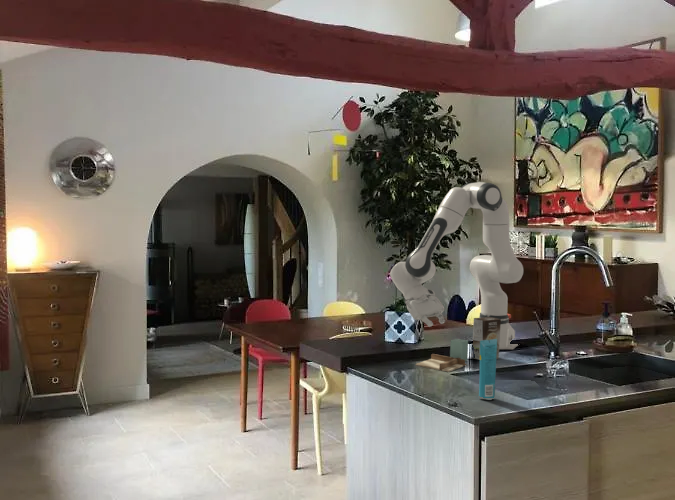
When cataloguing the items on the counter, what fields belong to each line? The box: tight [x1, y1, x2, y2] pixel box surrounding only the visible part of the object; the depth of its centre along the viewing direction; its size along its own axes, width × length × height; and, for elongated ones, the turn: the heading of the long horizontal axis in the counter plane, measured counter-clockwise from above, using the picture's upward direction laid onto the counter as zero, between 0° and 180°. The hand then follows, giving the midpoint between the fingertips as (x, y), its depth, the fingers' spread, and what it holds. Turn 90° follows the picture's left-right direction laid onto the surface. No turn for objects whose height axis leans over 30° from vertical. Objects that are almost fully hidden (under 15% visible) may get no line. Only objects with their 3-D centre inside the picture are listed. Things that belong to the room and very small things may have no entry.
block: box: [449, 338, 469, 362], centre depth 280 cm, size 5×5×8 cm
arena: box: [415, 353, 467, 373], centre depth 271 cm, size 14×14×2 cm
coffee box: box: [471, 317, 501, 361], centre depth 285 cm, size 9×6×16 cm
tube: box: [478, 339, 497, 398], centre depth 228 cm, size 7×5×19 cm, turn 129°
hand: (437, 324), depth 285 cm, fingers open, 8 cm apart
